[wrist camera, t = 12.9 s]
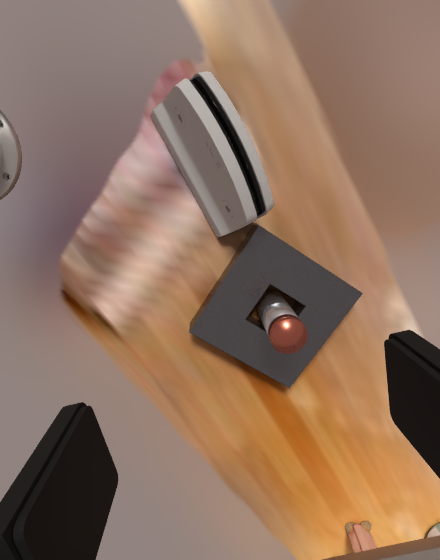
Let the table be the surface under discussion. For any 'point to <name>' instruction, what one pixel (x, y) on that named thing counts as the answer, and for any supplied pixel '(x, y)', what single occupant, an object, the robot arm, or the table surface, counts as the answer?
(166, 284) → the table surface
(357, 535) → the grandmother figurine
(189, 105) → the grey curved electronic device
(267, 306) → the pin
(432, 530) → the can
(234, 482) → the table surface
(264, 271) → the socket block
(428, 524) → the table surface
